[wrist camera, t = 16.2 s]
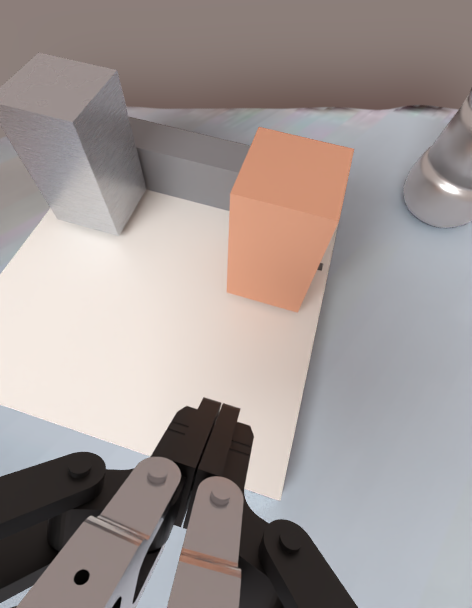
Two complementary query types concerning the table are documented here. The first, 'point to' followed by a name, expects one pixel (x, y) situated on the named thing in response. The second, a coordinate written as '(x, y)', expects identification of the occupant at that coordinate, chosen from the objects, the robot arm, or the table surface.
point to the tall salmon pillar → (283, 216)
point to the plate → (155, 315)
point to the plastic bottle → (444, 175)
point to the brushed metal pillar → (75, 140)
